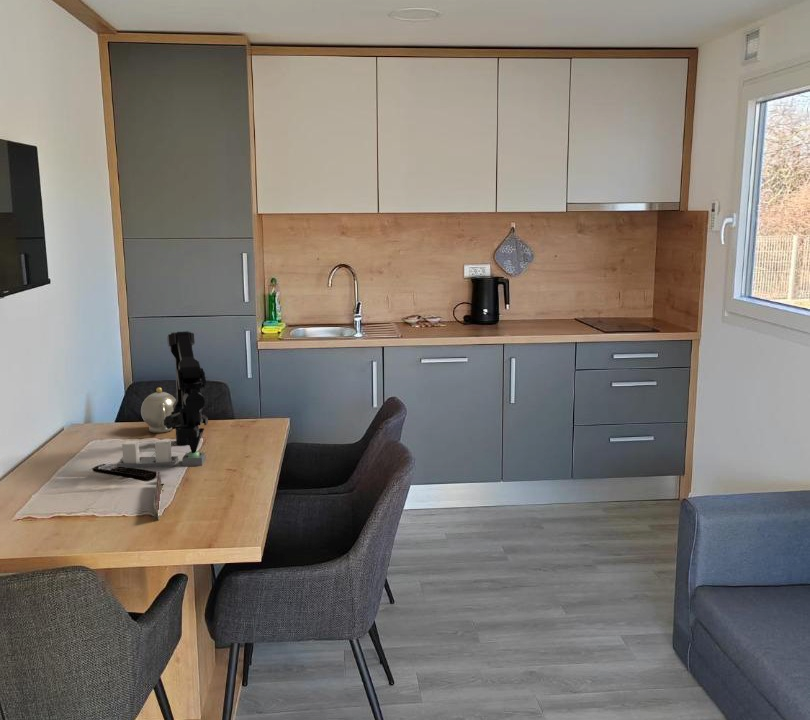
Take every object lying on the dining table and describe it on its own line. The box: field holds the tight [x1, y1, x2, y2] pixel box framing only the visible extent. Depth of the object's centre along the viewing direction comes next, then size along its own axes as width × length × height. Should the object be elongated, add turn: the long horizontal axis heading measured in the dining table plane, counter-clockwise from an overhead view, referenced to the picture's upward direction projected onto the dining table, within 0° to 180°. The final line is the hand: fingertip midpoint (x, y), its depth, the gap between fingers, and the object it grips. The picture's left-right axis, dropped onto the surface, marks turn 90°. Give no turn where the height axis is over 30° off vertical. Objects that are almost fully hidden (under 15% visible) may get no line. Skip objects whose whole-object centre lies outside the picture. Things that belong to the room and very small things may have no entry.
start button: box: [187, 450, 200, 457], centre depth 253 cm, size 3×3×3 cm
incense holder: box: [153, 470, 165, 522], centre depth 221 cm, size 30×1×5 cm, turn 14°
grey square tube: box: [181, 452, 207, 467], centre depth 253 cm, size 6×6×4 cm
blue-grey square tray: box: [119, 449, 155, 461], centre depth 262 cm, size 10×10×1 cm
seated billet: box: [154, 439, 173, 463], centre depth 252 cm, size 4×4×7 cm
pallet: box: [116, 455, 179, 469], centre depth 253 cm, size 8×17×2 cm, turn 93°
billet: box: [121, 440, 141, 463], centre depth 252 cm, size 4×4×7 cm
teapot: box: [140, 387, 177, 434], centre depth 294 cm, size 18×14×16 cm
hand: (193, 452), depth 253 cm, fingers closed, pressing on start button
